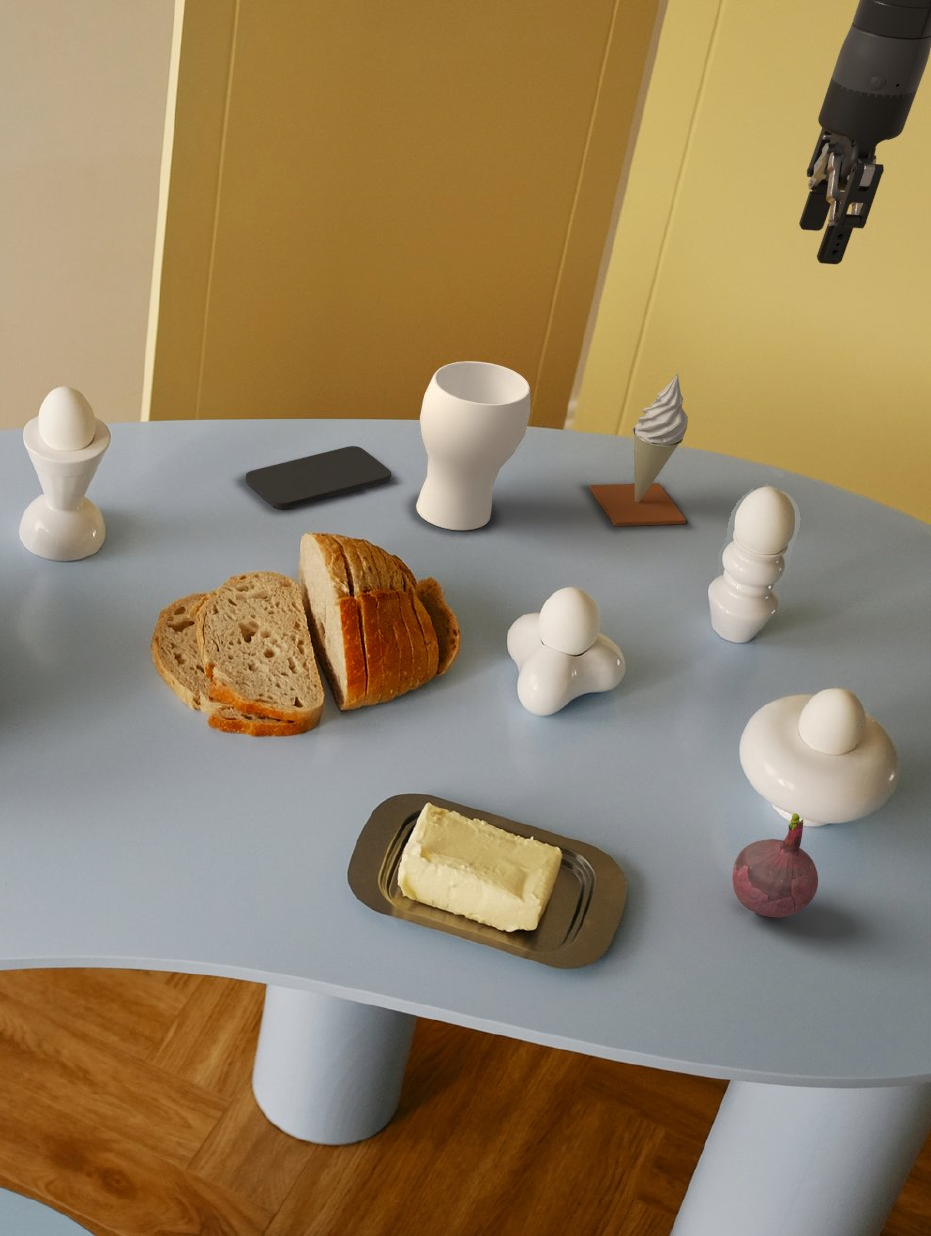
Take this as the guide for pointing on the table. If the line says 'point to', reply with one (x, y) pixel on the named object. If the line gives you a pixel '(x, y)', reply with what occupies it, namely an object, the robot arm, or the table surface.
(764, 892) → the vegetable
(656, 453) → the ice cream cone
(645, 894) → the table surface
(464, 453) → the cup
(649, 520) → the cork mat
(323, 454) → the phone
